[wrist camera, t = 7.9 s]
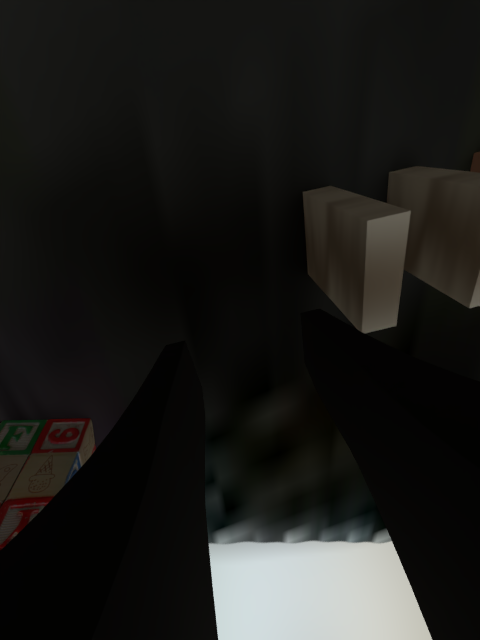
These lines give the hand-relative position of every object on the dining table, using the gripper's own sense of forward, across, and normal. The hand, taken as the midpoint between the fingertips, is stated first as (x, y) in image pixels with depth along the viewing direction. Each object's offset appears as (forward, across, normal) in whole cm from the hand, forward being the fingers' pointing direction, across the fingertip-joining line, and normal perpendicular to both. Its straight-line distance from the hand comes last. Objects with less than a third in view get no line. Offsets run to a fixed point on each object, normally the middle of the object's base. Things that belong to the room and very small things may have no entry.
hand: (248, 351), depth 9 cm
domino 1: (+10, -6, 0) cm, 11 cm away
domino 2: (+10, -11, 0) cm, 15 cm away
